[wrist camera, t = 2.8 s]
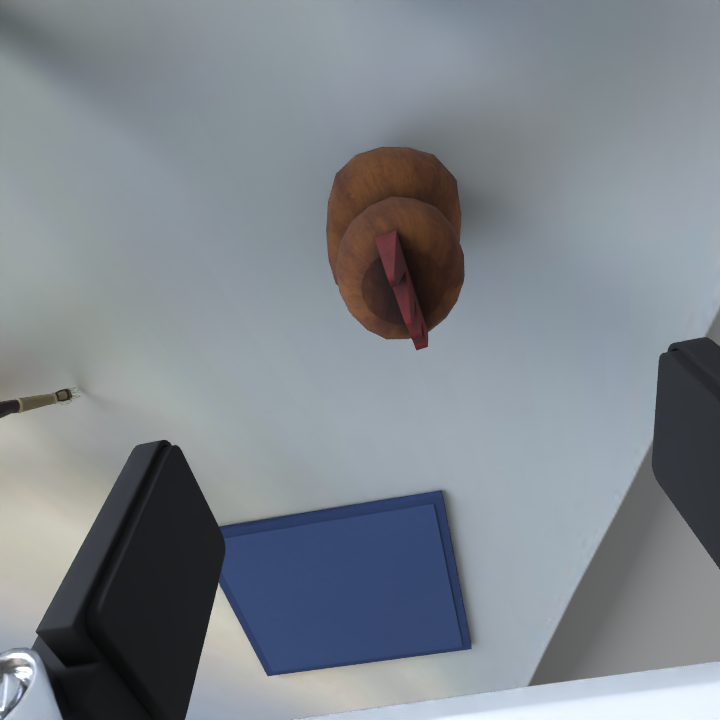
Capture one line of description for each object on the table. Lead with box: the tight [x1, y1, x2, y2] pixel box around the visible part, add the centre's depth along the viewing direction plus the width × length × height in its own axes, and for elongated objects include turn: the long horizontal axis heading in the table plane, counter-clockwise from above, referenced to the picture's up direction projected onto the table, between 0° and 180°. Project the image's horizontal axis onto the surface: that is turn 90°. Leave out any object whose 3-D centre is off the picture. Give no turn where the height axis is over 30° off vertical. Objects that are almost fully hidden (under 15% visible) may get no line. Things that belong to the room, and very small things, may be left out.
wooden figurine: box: [326, 147, 465, 350], centre depth 21 cm, size 7×6×15 cm
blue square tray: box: [219, 491, 472, 676], centre depth 43 cm, size 18×18×1 cm
